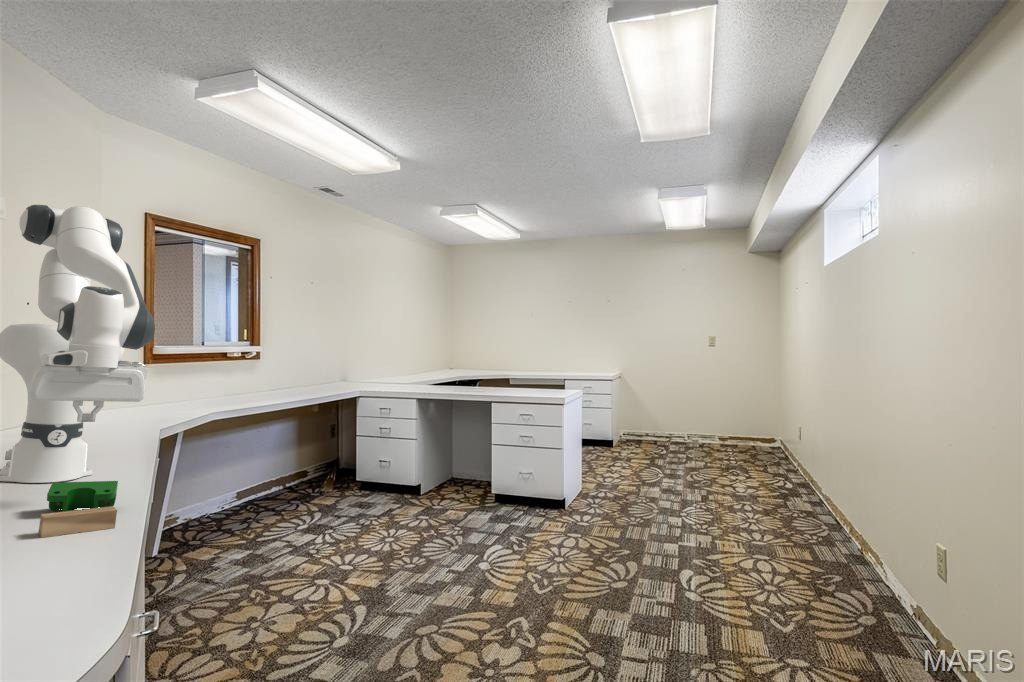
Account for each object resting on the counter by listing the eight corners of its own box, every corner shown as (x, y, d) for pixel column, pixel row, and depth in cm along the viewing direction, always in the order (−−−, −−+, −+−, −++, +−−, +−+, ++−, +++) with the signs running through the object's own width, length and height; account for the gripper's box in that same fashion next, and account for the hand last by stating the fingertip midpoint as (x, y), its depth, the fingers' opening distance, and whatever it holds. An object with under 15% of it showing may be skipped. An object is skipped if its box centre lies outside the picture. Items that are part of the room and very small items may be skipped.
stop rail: (38, 533, 99) (40, 513, 99) (110, 523, 107) (112, 506, 107) (41, 537, 97) (44, 518, 97) (114, 527, 105) (117, 509, 105)
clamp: (54, 536, 110) (35, 499, 107) (60, 521, 115) (42, 485, 112) (122, 511, 115) (106, 476, 112) (126, 498, 120) (110, 463, 117)
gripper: (144, 362, 129) (136, 419, 128) (31, 355, 113) (22, 420, 112) (152, 363, 124) (145, 422, 124) (37, 355, 109) (27, 424, 108)
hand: (85, 421), depth 118 cm, fingers closed
